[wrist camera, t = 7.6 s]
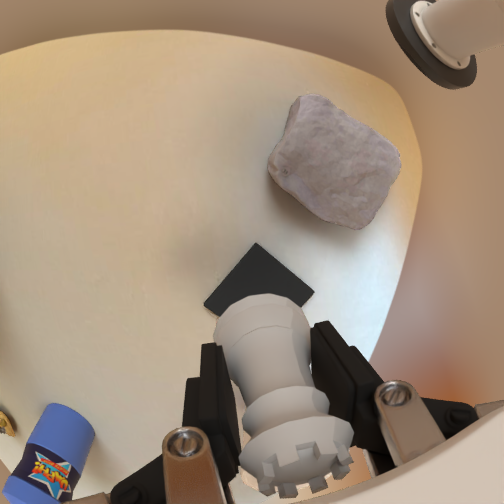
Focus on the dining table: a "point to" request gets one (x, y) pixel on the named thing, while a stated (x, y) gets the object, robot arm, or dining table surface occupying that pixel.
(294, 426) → the rook chess piece
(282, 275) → the mat
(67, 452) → the water bottle
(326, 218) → the stone block
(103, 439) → the dining table surface
